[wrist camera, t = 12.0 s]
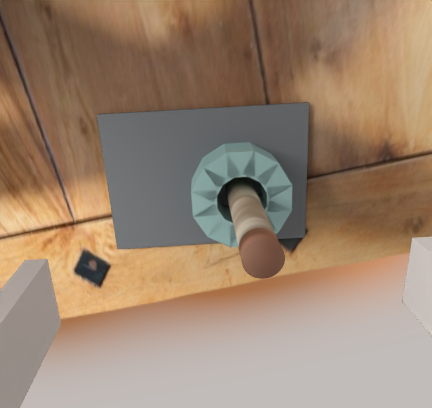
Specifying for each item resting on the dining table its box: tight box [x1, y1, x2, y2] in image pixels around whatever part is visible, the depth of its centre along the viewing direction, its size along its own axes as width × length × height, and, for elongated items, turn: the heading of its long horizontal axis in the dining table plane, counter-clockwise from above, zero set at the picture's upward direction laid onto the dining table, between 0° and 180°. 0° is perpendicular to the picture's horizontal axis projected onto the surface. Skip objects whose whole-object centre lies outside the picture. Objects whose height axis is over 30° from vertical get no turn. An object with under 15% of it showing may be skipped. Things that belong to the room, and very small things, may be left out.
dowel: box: [226, 177, 285, 279], centre depth 32 cm, size 3×3×15 cm
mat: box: [97, 102, 309, 249], centre depth 39 cm, size 20×14×1 cm
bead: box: [191, 142, 292, 247], centre depth 38 cm, size 9×9×4 cm
